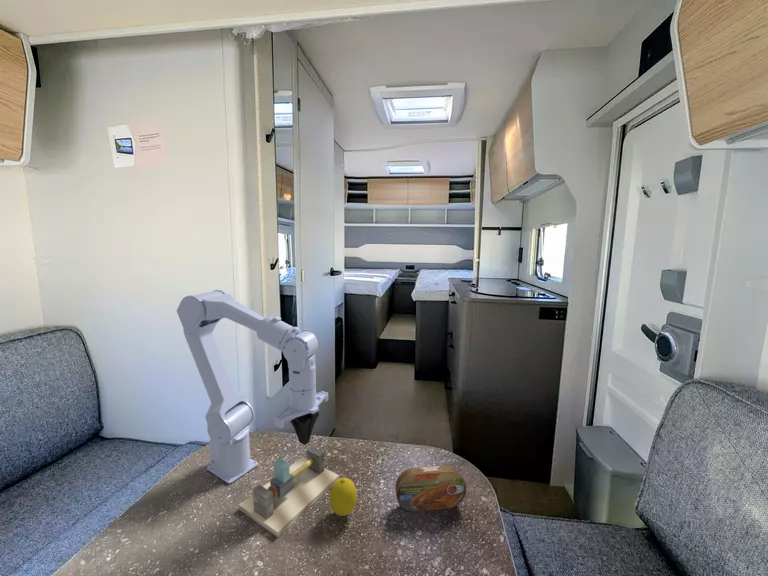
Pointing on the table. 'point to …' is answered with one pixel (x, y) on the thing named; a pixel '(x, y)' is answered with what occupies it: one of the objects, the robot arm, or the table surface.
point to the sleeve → (282, 478)
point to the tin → (430, 488)
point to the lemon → (343, 496)
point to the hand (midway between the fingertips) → (304, 442)
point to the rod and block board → (290, 494)
